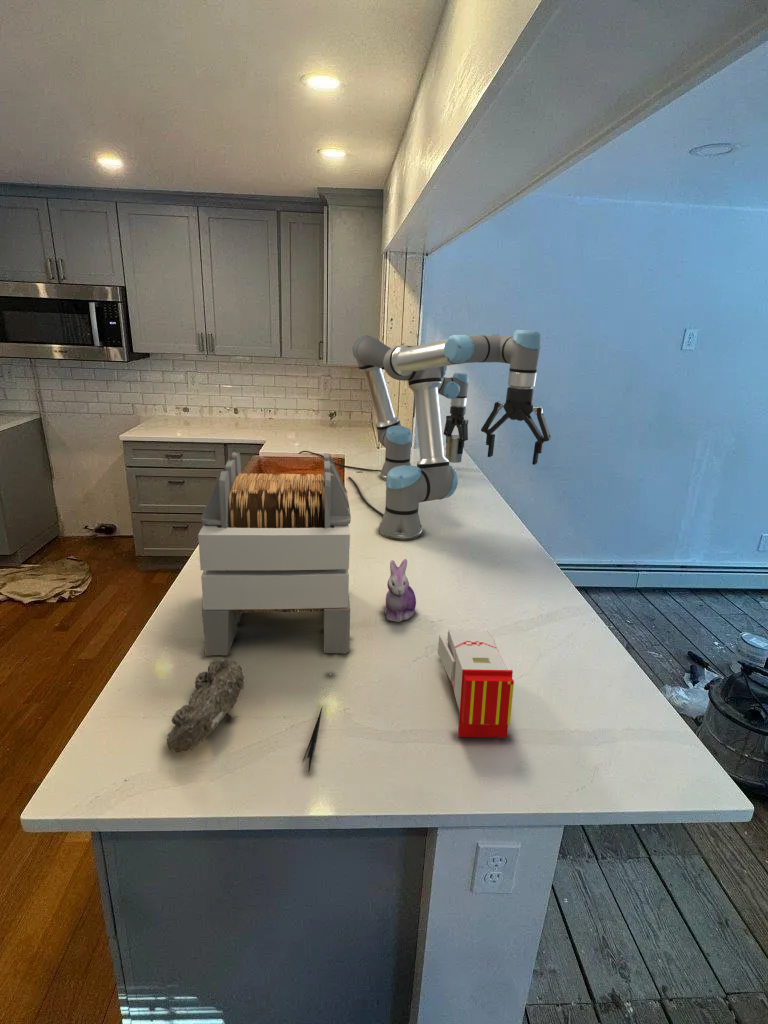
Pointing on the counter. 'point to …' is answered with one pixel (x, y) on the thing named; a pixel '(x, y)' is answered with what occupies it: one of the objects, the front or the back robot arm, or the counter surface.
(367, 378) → the back robot arm
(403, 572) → the figurine
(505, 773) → the counter surface
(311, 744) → the feather
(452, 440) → the tin
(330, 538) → the record crate
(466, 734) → the toy
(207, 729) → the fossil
